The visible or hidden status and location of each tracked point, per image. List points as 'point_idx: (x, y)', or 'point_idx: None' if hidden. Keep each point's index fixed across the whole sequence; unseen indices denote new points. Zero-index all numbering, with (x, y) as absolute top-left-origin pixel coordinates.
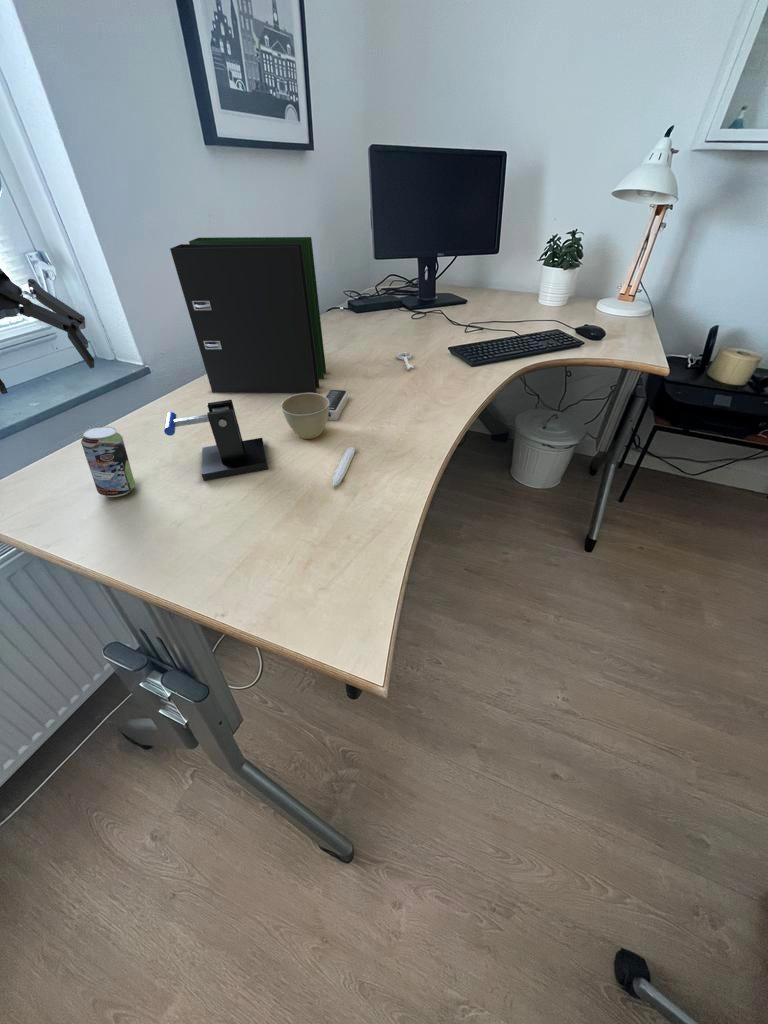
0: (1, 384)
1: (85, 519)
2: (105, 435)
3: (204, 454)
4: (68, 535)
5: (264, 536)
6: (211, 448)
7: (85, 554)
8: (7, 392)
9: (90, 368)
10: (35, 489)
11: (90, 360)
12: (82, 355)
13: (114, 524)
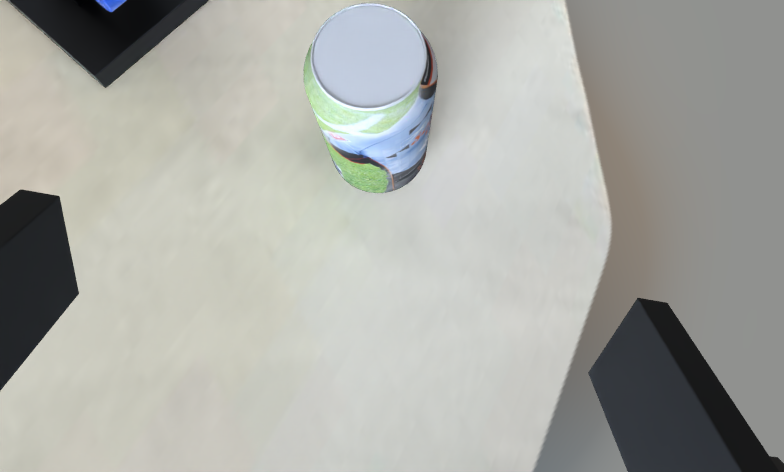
0: (654, 303)
1: (487, 127)
2: (371, 16)
3: (127, 39)
4: (537, 110)
5: None
6: (85, 45)
7: (545, 24)
8: (591, 369)
9: (75, 292)
10: (495, 379)
11: (52, 196)
12: (11, 331)
13: (459, 51)
